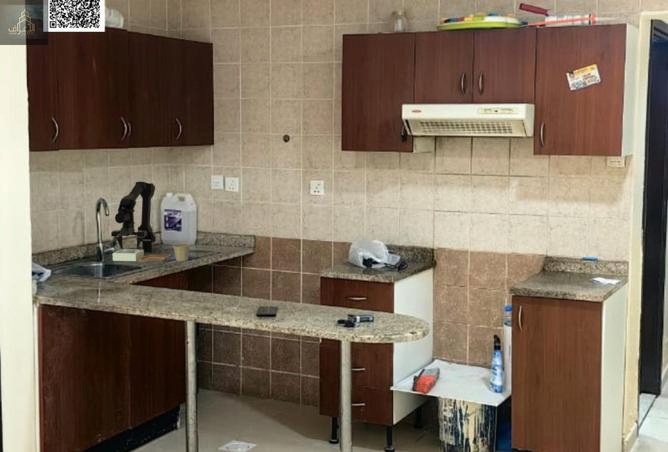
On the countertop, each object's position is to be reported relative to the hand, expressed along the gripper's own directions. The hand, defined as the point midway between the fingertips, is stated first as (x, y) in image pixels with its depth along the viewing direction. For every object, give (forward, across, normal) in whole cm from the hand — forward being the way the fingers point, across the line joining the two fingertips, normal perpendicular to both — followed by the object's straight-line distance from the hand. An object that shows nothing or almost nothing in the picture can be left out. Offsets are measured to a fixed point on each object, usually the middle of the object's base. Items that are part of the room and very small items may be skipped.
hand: (129, 249), depth 542 cm
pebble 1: (+5, 0, -5) cm, 7 cm away
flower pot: (+6, +30, -4) cm, 31 cm away
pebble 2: (+5, 0, 0) cm, 5 cm away
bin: (+6, 0, -2) cm, 6 cm away
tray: (+6, +14, -2) cm, 16 cm away
